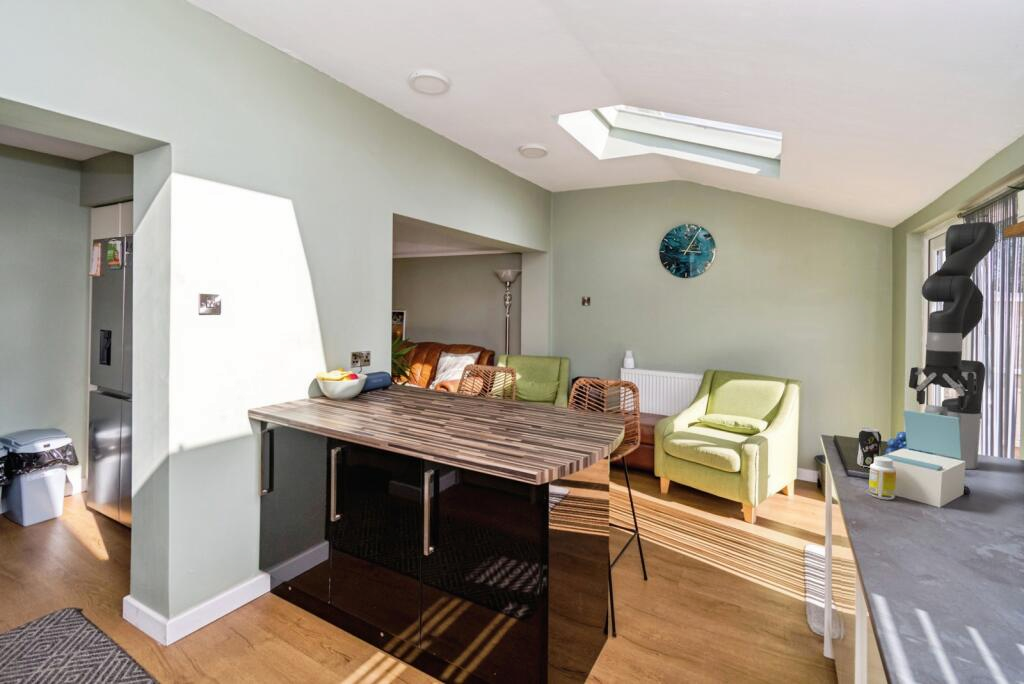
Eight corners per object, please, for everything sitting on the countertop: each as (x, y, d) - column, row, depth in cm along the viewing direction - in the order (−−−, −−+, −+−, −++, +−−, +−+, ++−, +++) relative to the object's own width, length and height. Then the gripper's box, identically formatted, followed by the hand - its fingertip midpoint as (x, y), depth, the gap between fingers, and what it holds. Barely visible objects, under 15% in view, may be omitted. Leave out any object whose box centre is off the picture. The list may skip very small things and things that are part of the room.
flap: (907, 447, 142) (915, 438, 145) (961, 458, 132) (969, 448, 135) (903, 409, 139) (912, 400, 142) (958, 417, 129) (966, 407, 132)
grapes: (934, 469, 152) (937, 431, 151) (931, 474, 147) (934, 435, 146) (887, 460, 160) (889, 424, 159) (883, 465, 155) (885, 428, 155)
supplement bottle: (897, 496, 130) (899, 459, 129) (891, 502, 127) (893, 463, 126) (872, 490, 135) (874, 454, 134) (865, 495, 131) (867, 458, 130)
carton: (900, 478, 144) (902, 446, 143) (963, 494, 132) (965, 458, 131) (874, 489, 135) (876, 455, 135) (939, 507, 123) (942, 469, 123)
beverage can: (858, 468, 153) (859, 430, 152) (856, 462, 158) (857, 426, 157) (880, 471, 150) (883, 432, 149) (878, 465, 155) (880, 428, 154)
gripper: (982, 349, 132) (979, 409, 134) (917, 346, 145) (914, 400, 146) (972, 351, 128) (968, 413, 130) (906, 347, 141) (903, 403, 142)
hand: (940, 406), depth 138 cm, fingers open, 8 cm apart
